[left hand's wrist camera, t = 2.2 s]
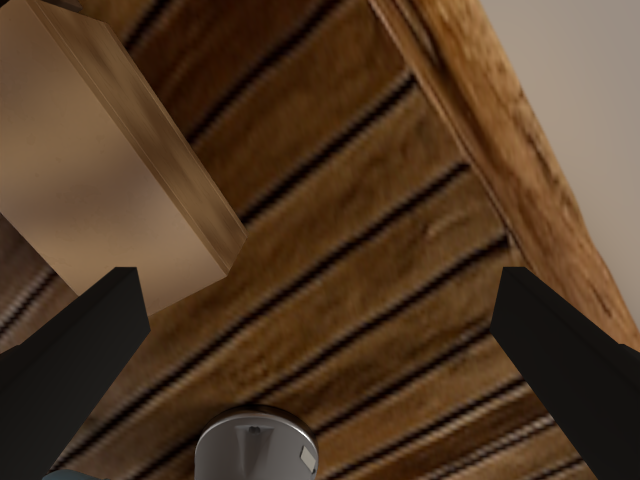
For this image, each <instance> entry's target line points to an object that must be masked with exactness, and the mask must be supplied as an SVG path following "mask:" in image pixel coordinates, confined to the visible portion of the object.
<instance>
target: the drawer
mask: <svg viewBox="0 0 640 480" xmlns="http://www.w3.org/2000/svg"><path fill="white" fill-rule="evenodd" d="M8 1H10V0H0V8H1V7H2V6H3V5H5V4H6V3H7V2H8ZM41 1H44V2H47V3H50V4H53V5H56V6H58V7H61V8H64V9H67V10H70V11H73V12H76V13H78V12H79V11H81V10H82V9H83V7H82V6H81V4H80V3H79V2H78V0H41Z"/></svg>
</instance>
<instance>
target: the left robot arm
mask: <svg viewBox="0 0 640 480" xmlns="http://www.w3.org/2000/svg"><path fill="white" fill-rule="evenodd" d="M150 331H151V330H150V326H149V321H148V316H147V312H146V307H145V303H144V298H143V293H142V289H141V284H140V280H139V275H138V271H137V267H115V268H113V269H112V270H111V271H110V272H108V273H107V274H106V275H105V276H104V277H102V278H101V279H100V280H99V281H97V282H96V283H95V284H94V285H93V286H91V287H90V288H89V289H88V290H86V291H85V292H84V293H83V294H82V295H80V296H79V297H78V298H77V299H75V300H74V301H73V302H72V303H71V304H69V305H68V306H67V307H66V308H64V309H63V310H62V311H61V312H60V313H58V314H57V315H56V316H55V317H53V318H52V319H51V320H50V321H49V322H47V323H46V324H45V325H44V326H42V327H41V328H40V329H39V330H38V331H36V332H35V333H34V334H33V335H31V336H30V337H29V338H28V339H27V340H25V341H24V342H23V343H22V344H20V345H16V346H14V347H13V348H11V349H9V350H7V351H5V352H3V353H2V354H0V480H101V479H98V478H95V477H92V476H89V475H86V474H83V473H80V472H76V471H73V470H69V469H63V470H58V471H55V472H52V473H50V474H48V475H46V473H47V472H48V470H49V469H50V468H51V466H52V465H53V464H54V462H55V461H56V459H57V458H58V457H59V455H60V454H61V453H62V451H63V450H64V449H65V447H66V446H67V444H68V443H69V442H70V440H71V439H72V438H73V436H74V435H75V434H76V432H77V431H78V429H79V428H80V427H81V425H82V424H83V423H84V421H85V420H86V418H87V417H88V416H89V414H90V413H91V412H92V410H93V409H94V408H95V406H96V405H97V403H98V402H99V401H100V399H101V398H102V397H103V395H104V394H105V393H106V391H107V390H108V388H109V387H110V386H111V384H112V383H113V382H114V380H115V379H116V377H117V376H118V375H119V373H120V372H121V371H122V369H123V368H124V367H125V365H126V364H127V362H128V361H129V360H130V358H131V357H132V356H133V354H134V353H135V352H136V350H137V349H138V347H139V346H140V345H141V343H142V342H143V341H144V339H145V338H146V336H147V335H148V334H149V332H150ZM489 331H490V332H491V334H492V335H493V336H494V338H495V339H496V341H497V342H498V343H499V345H500V346H501V347H502V349H503V350H504V352H505V353H506V354H507V356H508V357H509V358H510V360H511V361H512V362H513V364H514V365H515V367H516V368H517V369H518V371H519V372H520V373H521V375H522V376H523V377H524V379H525V380H526V382H527V383H528V384H529V386H530V387H531V388H532V390H533V391H534V393H535V394H536V395H537V397H538V398H539V399H540V401H541V402H542V403H543V405H544V406H545V408H546V409H547V410H548V412H549V413H550V414H551V416H552V417H553V418H554V420H555V421H556V423H557V424H558V425H559V427H560V428H561V429H562V431H563V432H564V434H565V435H566V436H567V438H568V439H569V440H570V442H571V443H572V444H573V446H574V447H575V449H576V450H577V451H578V453H579V454H580V455H581V457H582V458H583V460H584V461H585V462H586V464H587V465H588V466H589V468H590V469H591V470H592V472H593V473H594V475H595V476H596V477H597V479H598V480H640V353H639V352H638V351H636V350H634V349H632V348H630V347H628V346H626V345H625V344H618V343H617V342H616V341H615V340H613V339H612V338H611V337H610V336H609V335H607V334H606V333H605V332H604V331H602V330H601V329H600V328H599V327H598V326H596V325H595V324H594V323H593V322H591V321H590V320H589V319H588V318H587V317H585V316H584V315H583V314H582V313H580V312H579V311H578V310H577V309H576V308H574V307H573V306H572V305H571V304H569V303H568V302H567V301H566V300H565V299H563V298H562V297H561V296H560V295H558V294H557V293H556V292H555V291H554V290H552V289H551V288H550V287H549V286H547V285H546V284H545V283H544V282H543V281H541V280H540V279H539V278H538V277H536V276H535V275H534V274H533V273H532V272H530V271H529V270H528V269H527V268H525V267H503V271H502V275H501V280H500V284H499V289H498V293H497V298H496V303H495V307H494V312H493V316H492V321H491V326H490V330H489ZM317 469H318V443H317V440H316V437H315V435H314V433H313V432H312V430H311V429H310V428H309V427H308V426H307V425H306V424H305V423H304V422H303V421H302V420H300V419H299V418H297V417H296V416H294V415H292V414H290V413H288V412H286V411H283V410H280V409H277V408H272V407H267V406H243V407H237V408H233V409H230V410H227V411H225V412H223V413H221V414H219V415H217V416H216V417H214V418H213V419H212V420H211V421H210V422H209V423H208V424H207V425H206V426H205V427H204V429H203V431H202V433H201V436H200V439H199V441H198V444H197V447H196V451H195V480H314V479H315V476H316V473H317ZM45 475H46V476H45ZM44 476H45V477H44ZM103 480H110V479H103Z"/></svg>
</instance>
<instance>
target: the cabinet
mask: <svg viewBox="0 0 640 480" xmlns="http://www.w3.org/2000/svg"><path fill="white" fill-rule="evenodd" d="M0 212H1V213H2V214H3V215H4V217H5V218H6V219H7V220H8V221H9V222H10V223H11V224H12V225H13V226H14V227H15V228H16V229H17V230H18V232H19V233H20V234H21V235H22V236H23V237H24V238H25V239H26V240H27V241H28V242H29V243H30V244H31V246H32V247H33V248H34V249H35V250H36V251H37V252H38V253H39V254H40V255H41V256H42V257H43V258H44V259H45V261H46V262H47V263H48V264H49V265H50V266H51V267H52V268H53V269H54V270H55V271H56V272H57V273H58V275H59V276H60V277H61V278H62V279H63V280H64V281H65V282H66V283H67V284H68V285H69V286H70V287H71V288H72V290H73V291H74V292H75V293H76V294H77V295H78V296H80V295H82V294H83V293H84V292H85V291H86V290H88V289H89V288H90V287H91V286H93V285H94V284H95V283H96V282H97V281H99V280H100V279H101V278H102V277H104V276H105V275H106V274H107V273H108V272H110V271H111V270H112V269H113V268H115V267H137V271H138V275H139V280H140V284H141V289H142V293H143V298H144V303H145V307H146V312H147V316H150V315H152V314H154V313H156V312H158V311H160V310H162V309H164V308H166V307H168V306H170V305H172V304H174V303H176V302H178V301H180V300H182V299H184V298H186V297H188V296H189V295H191V294H193V293H195V292H197V291H199V290H201V289H203V288H205V287H207V286H209V285H211V284H213V283H215V282H217V281H219V280H221V279H223V278H225V277H226V276H227V275H228V273H229V270H230V269H231V267H232V265H233V263H234V261H235V259H236V257H237V256H238V254H239V252H240V250H241V248H242V246H243V244H244V242H245V241H246V239H247V237H248V235H249V233H248V232H247V230H246V229H245V227H244V226H243V224H242V223H241V221H240V220H239V218H238V217H237V215H236V214H235V212H234V211H233V209H232V208H231V206H230V205H229V203H228V202H227V200H226V199H225V197H224V196H223V194H222V193H221V191H220V190H219V188H218V187H217V185H216V184H215V182H214V181H213V179H212V178H211V176H210V175H209V173H208V172H207V171H206V169H205V168H204V166H203V165H202V163H201V162H200V160H199V159H198V157H197V156H196V154H195V153H194V151H193V150H192V148H191V147H190V145H189V144H188V142H187V141H186V139H185V138H184V136H183V135H182V133H181V132H180V130H179V129H178V127H177V126H176V124H175V123H174V121H173V120H172V118H171V117H170V115H169V114H168V112H167V111H166V109H165V108H164V106H163V105H162V103H161V102H160V100H159V99H158V97H157V96H156V94H155V93H154V91H153V90H152V88H151V87H150V85H149V84H148V82H147V81H146V79H145V78H144V76H143V75H142V73H141V72H140V70H139V69H138V67H137V66H136V64H135V63H134V61H133V60H132V58H131V57H130V55H129V54H128V52H127V51H126V49H125V48H124V46H123V45H122V43H121V42H120V40H119V39H118V37H117V36H116V34H115V33H114V31H113V30H112V28H111V27H110V26H109V24H108V23H105V22H102V21H99V20H96V19H93V18H90V17H88V16H85V15H82V14H79V13H76V12H73V11H70V10H67V9H64V8H61V7H58V6H56V5H53V4H50V3H47V2H44V1H41V0H10V1H8V2H7V3H6V4H5V5H3V6H2V7H1V8H0Z"/></svg>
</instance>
